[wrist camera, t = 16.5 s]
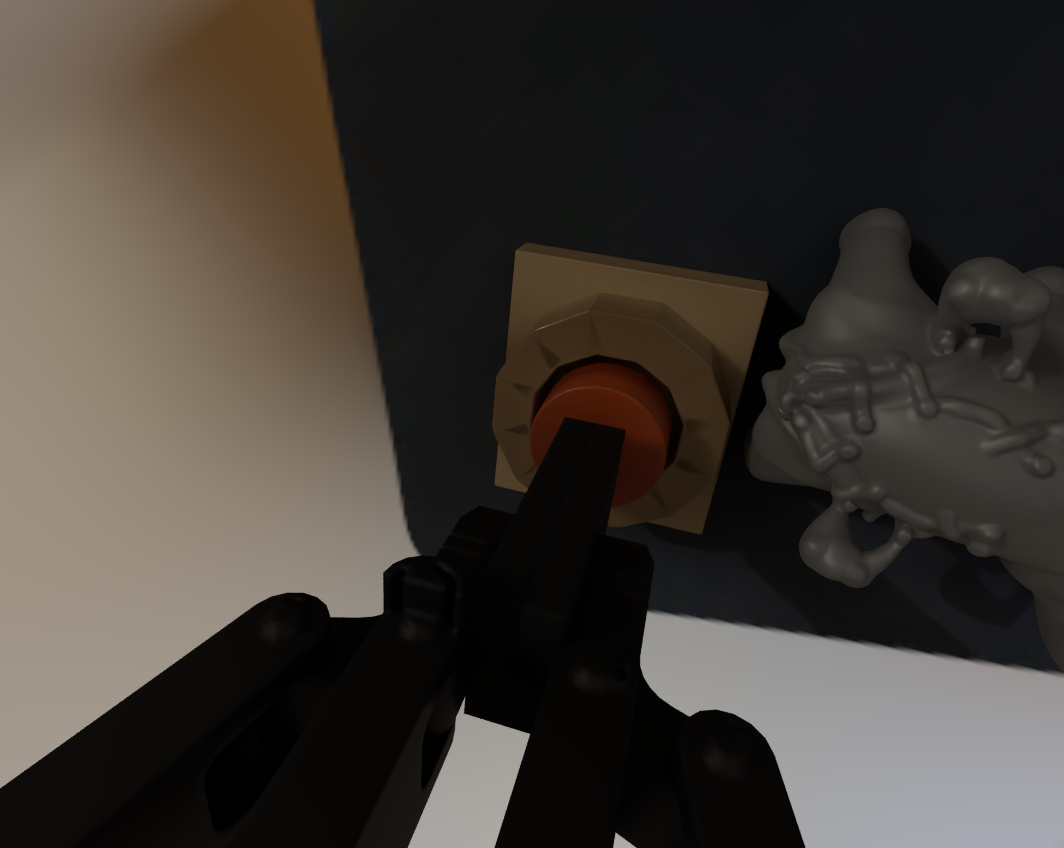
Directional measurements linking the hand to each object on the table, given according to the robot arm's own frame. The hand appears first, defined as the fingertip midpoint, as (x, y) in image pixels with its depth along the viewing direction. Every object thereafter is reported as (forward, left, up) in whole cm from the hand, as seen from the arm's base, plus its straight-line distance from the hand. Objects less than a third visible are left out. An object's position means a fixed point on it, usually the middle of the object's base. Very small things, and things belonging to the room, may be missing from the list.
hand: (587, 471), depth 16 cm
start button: (0, 0, -3) cm, 3 cm away
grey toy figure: (-3, +10, -6) cm, 11 cm away
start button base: (0, 0, -5) cm, 5 cm away
